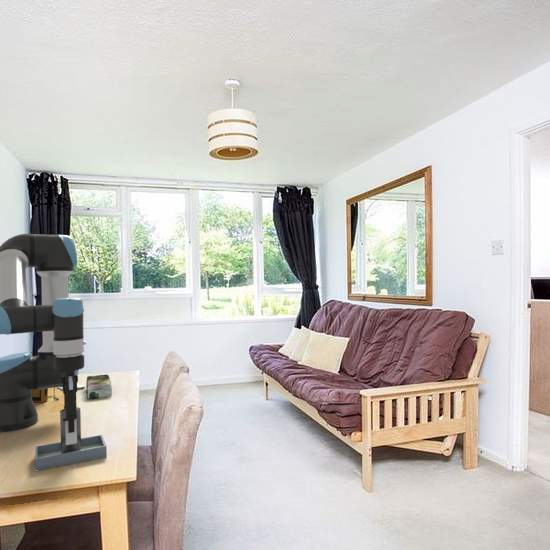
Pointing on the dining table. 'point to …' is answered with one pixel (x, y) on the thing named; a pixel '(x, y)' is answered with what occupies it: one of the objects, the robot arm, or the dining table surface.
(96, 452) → the trough
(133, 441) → the dining table surface
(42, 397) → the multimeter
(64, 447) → the cell
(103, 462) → the dining table surface
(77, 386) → the external hard drive
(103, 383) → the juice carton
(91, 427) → the dining table surface
